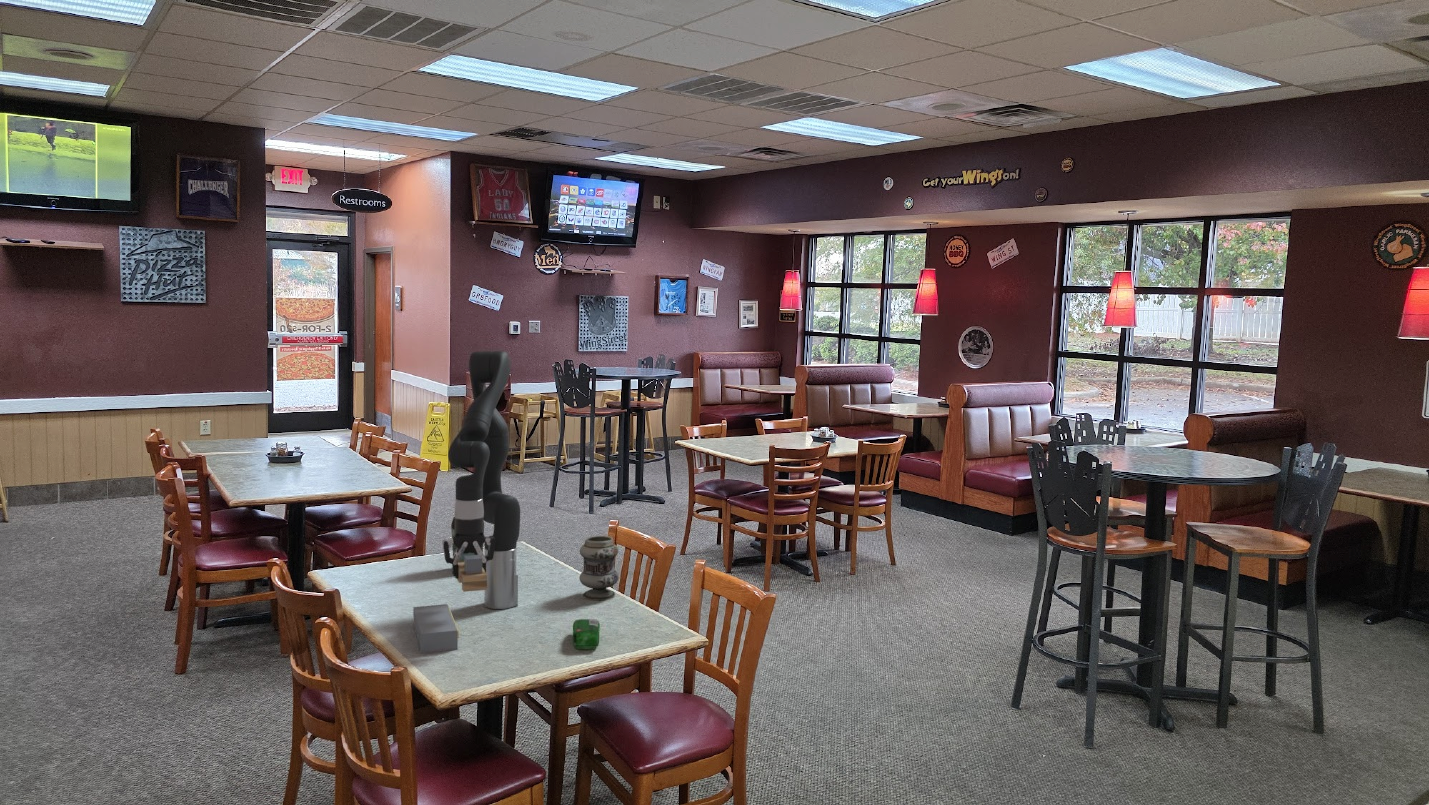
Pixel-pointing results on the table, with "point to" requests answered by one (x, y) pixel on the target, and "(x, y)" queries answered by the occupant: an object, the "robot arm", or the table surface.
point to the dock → (435, 628)
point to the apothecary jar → (599, 567)
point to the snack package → (586, 633)
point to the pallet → (471, 579)
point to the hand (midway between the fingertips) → (469, 576)
